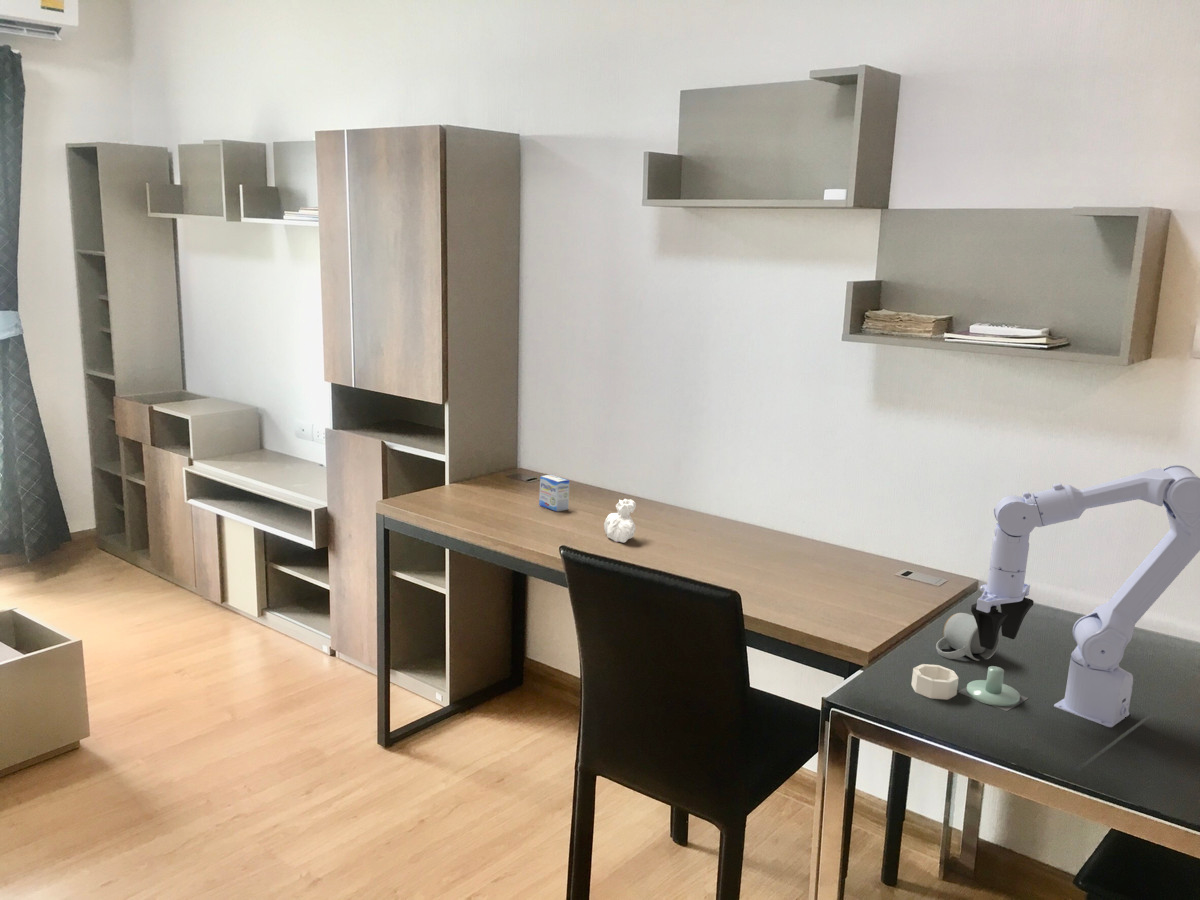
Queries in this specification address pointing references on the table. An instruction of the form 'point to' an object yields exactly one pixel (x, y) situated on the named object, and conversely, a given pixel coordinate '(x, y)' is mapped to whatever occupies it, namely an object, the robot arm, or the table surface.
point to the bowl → (934, 681)
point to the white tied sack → (621, 522)
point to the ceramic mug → (963, 638)
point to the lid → (993, 689)
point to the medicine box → (554, 493)
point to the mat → (993, 705)
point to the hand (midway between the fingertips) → (997, 642)
